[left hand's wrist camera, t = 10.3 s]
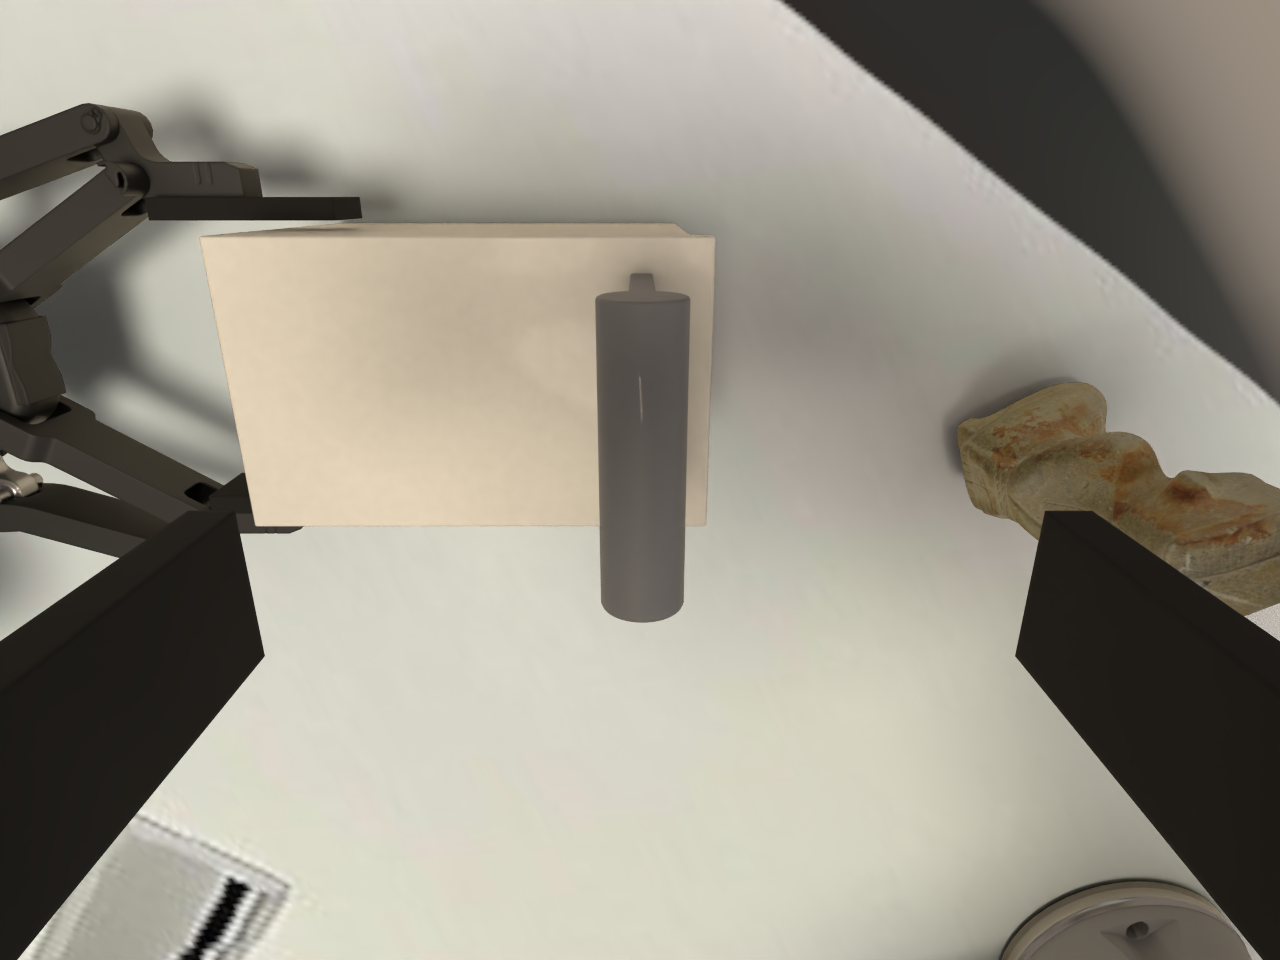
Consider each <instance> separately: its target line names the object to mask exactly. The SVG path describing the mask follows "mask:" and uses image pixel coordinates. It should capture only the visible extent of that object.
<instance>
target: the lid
mask: <svg viewBox="0 0 1280 960" xmlns="http://www.w3.org/2000/svg"><path fill="white" fill-rule="evenodd" d="M200 244H201V249H202V254H203V259H204V265H205V270H206V275H207V280H208V285H209V290H210V295H211V300H212V306H213V311H214V316H215V321H216V326H217V331H218V336H219V342H220V347H221V352H222V357H223V362H224V367H225V372H226V377H227V383H228V388H229V393H230V398H231V403H232V408H233V413H234V419H235V424H236V429H237V434H238V439H239V444H240V449H241V454H242V460H243V465H244V470H245V475H246V480H247V485H248V490H249V496H250V501H251V506H252V511H253V516H254V521H255V525H256V526H600V566H601V603H602V605H603V607H604V609H605V610H606V611H607V612H608V613H609V614H610V615H612V616H614V617H616V618H619V619H621V620H625V621H630V622H655V621H660V620H664V619H666V618H669V617H671V616H673V615H674V614H676V613H677V612H678V611H679V610H680V609H681V607H682V605H683V602H684V560H685V526H705V525H706V517H707V488H708V458H709V428H710V399H711V369H712V339H713V310H714V280H715V250H716V238H715V237H714V236H712V235H209V236H201V237H200Z"/></svg>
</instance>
